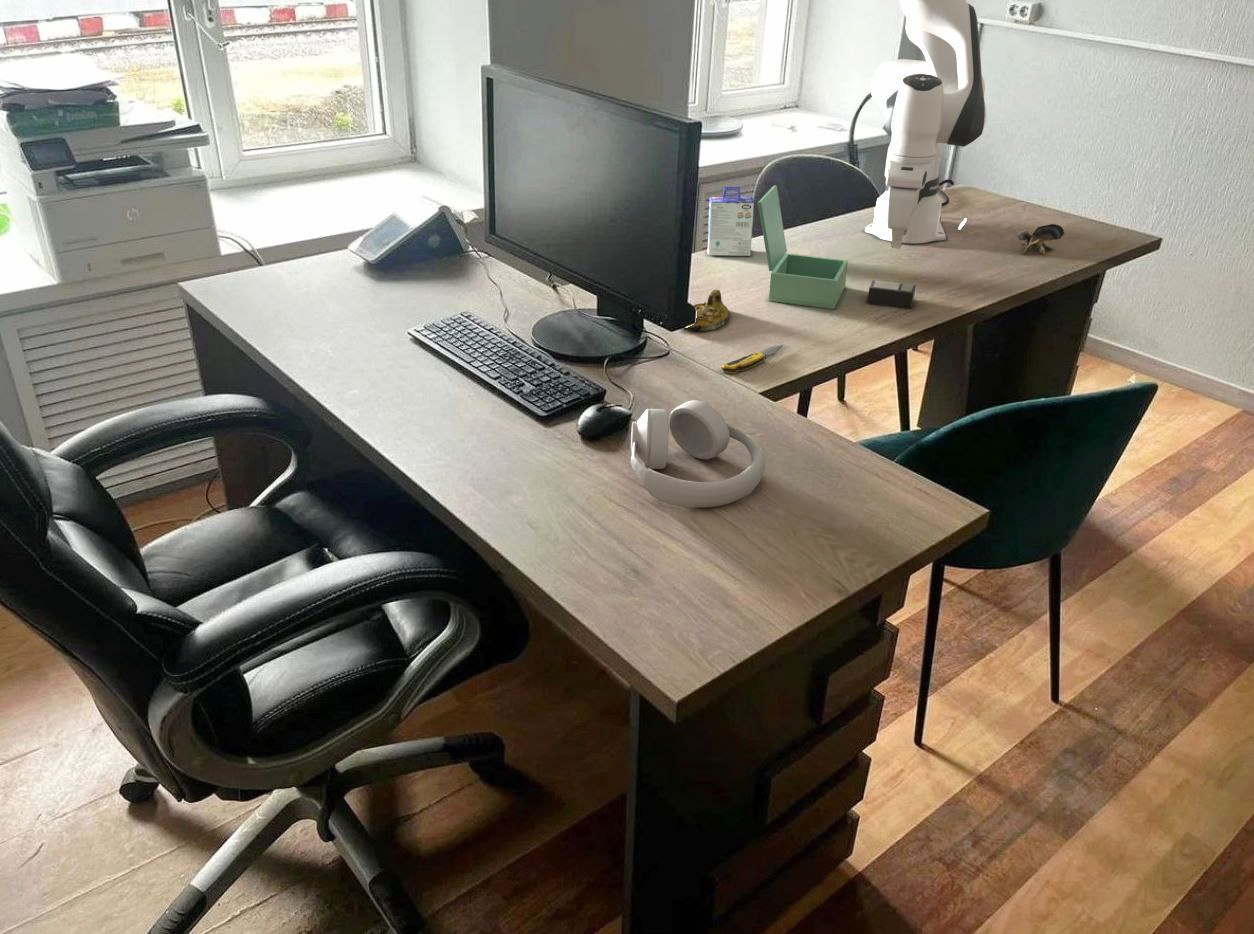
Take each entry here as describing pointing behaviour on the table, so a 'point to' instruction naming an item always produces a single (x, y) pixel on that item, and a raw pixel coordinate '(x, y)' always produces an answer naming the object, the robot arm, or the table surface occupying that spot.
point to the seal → (710, 313)
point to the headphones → (699, 437)
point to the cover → (772, 227)
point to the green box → (808, 280)
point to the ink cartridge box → (730, 224)
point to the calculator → (891, 294)
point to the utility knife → (749, 360)
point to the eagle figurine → (1040, 237)
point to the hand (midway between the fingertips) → (899, 240)
